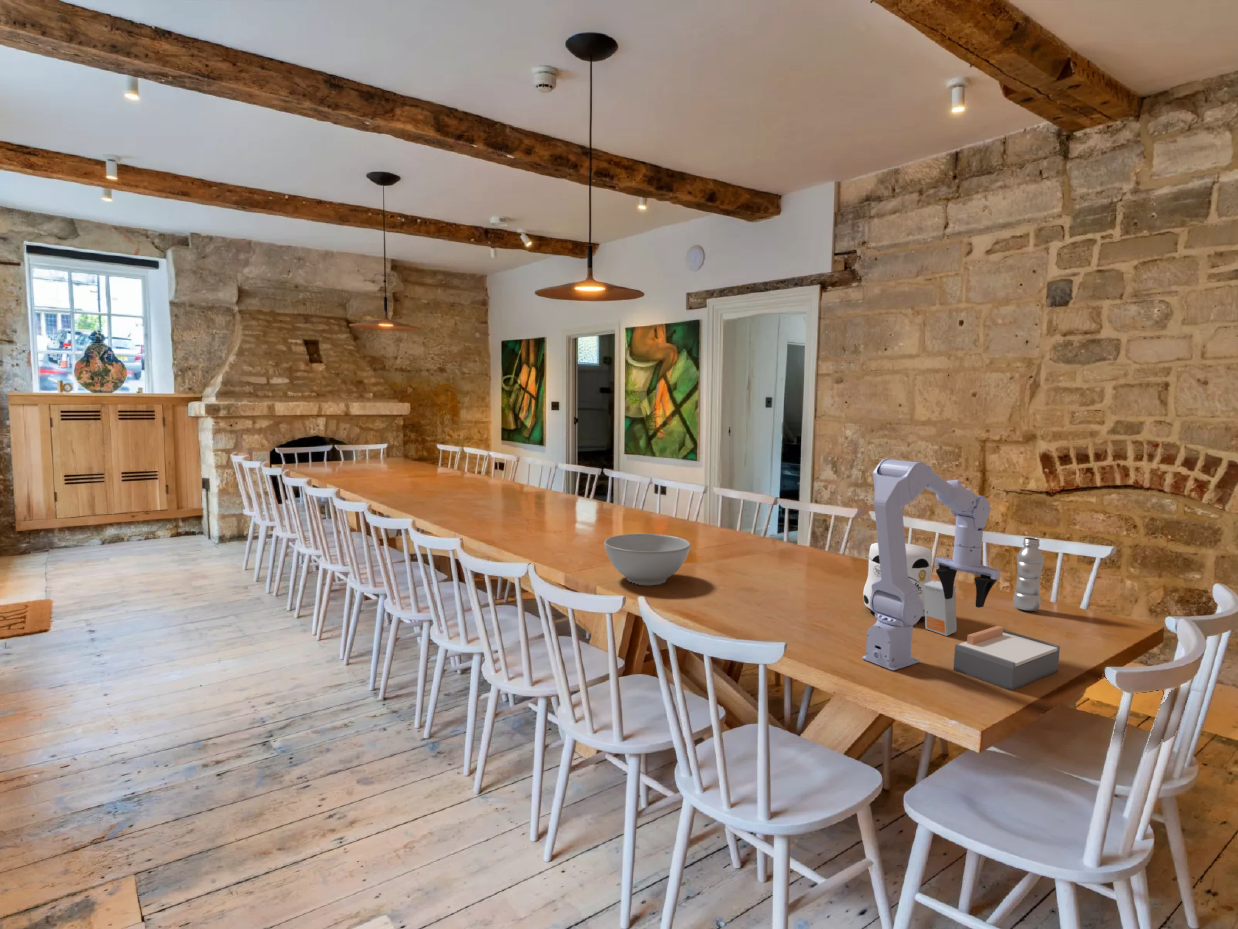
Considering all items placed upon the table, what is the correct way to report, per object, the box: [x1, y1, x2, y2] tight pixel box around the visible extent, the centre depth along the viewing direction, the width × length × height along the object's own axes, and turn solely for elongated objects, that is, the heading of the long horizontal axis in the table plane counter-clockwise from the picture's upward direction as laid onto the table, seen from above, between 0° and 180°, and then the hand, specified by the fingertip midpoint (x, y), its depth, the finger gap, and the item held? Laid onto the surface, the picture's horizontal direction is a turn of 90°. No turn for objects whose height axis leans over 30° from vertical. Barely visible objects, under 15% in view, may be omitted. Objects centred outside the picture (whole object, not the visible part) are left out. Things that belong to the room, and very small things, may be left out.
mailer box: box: [953, 629, 1061, 692], centre depth 144 cm, size 19×12×6 cm, turn 123°
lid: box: [958, 625, 1057, 666], centre depth 144 cm, size 17×12×2 cm
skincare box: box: [924, 579, 958, 637], centre depth 167 cm, size 6×4×12 cm
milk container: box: [862, 542, 933, 620], centre depth 181 cm, size 17×17×18 cm
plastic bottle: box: [1012, 537, 1045, 612], centre depth 187 cm, size 6×7×20 cm
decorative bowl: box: [603, 533, 691, 586], centre depth 211 cm, size 27×27×12 cm
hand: (963, 602), depth 159 cm, fingers open, 7 cm apart
